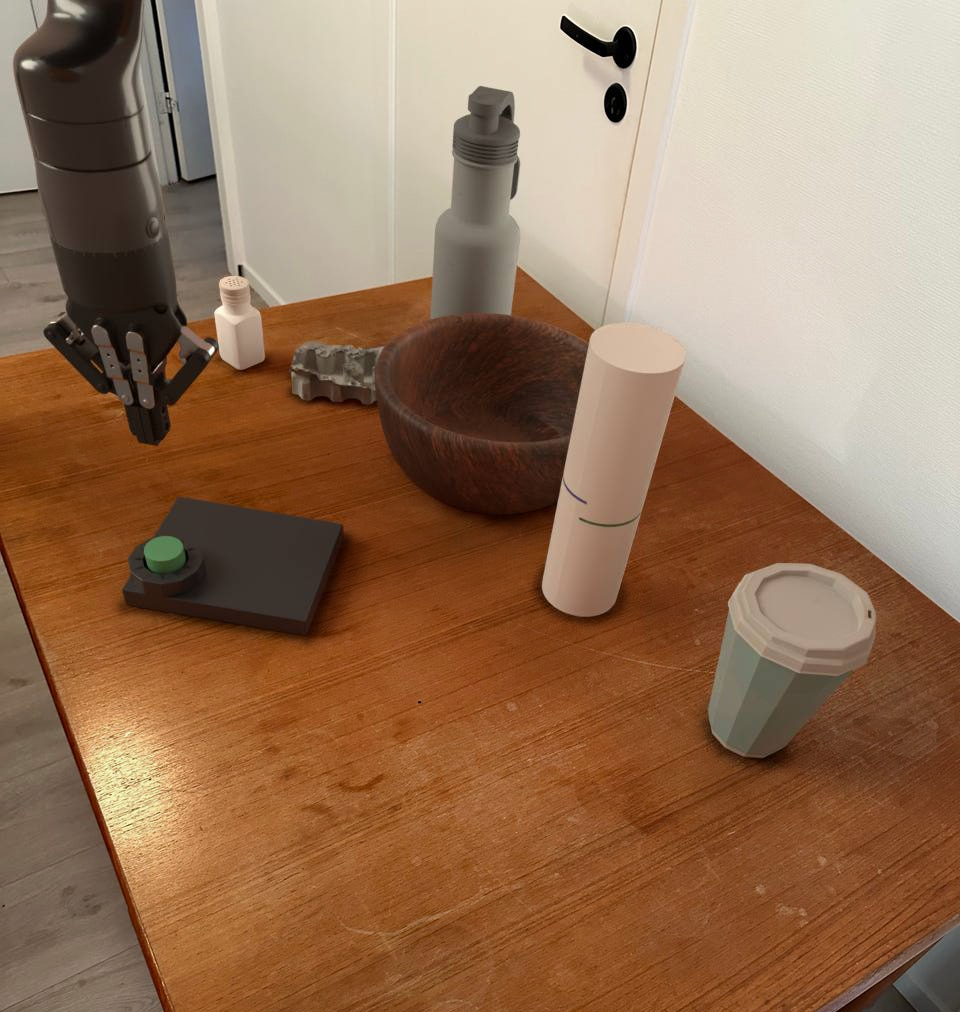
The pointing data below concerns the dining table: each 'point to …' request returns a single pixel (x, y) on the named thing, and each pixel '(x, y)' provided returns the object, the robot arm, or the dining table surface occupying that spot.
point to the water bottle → (479, 212)
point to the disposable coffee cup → (786, 653)
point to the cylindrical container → (610, 463)
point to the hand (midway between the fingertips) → (152, 438)
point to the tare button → (164, 555)
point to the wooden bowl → (481, 408)
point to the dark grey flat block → (239, 566)
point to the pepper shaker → (238, 325)
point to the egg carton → (334, 372)
